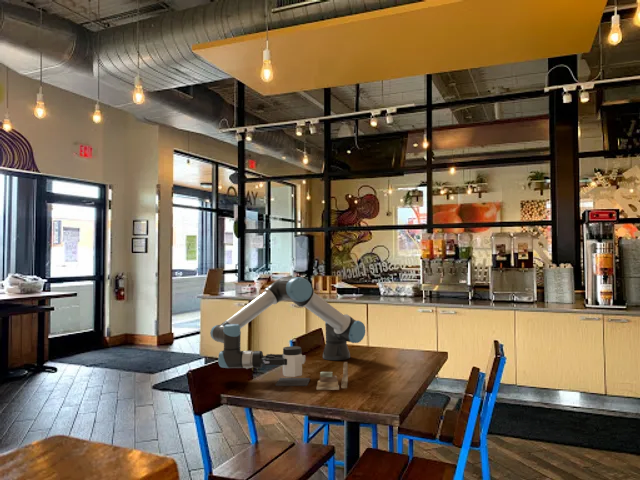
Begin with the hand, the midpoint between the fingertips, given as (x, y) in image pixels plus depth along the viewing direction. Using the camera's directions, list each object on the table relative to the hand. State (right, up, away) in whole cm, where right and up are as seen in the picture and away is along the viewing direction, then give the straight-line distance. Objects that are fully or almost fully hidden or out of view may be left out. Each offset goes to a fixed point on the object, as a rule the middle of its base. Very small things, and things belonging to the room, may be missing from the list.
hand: (304, 359), depth 213 cm
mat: (-5, -10, 0) cm, 11 cm away
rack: (+12, -10, -5) cm, 17 cm away
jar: (-5, -7, -1) cm, 9 cm away
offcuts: (+10, -8, -12) cm, 18 cm away
